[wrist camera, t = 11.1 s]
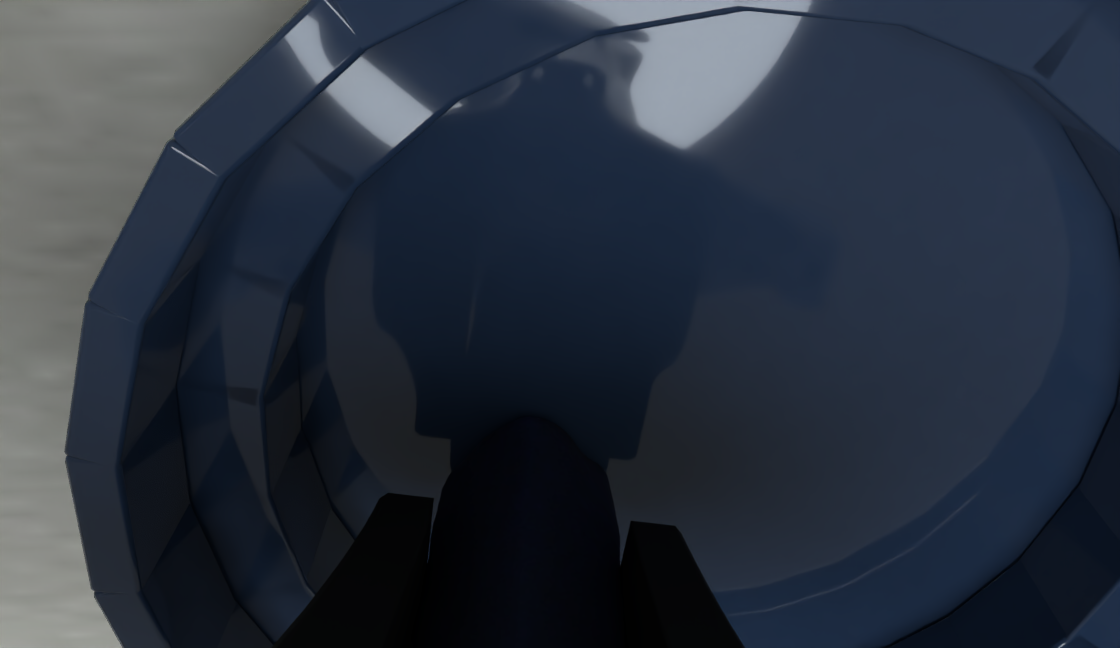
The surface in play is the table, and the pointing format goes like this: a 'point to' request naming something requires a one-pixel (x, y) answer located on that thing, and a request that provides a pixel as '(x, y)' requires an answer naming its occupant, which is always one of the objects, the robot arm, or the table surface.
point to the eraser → (523, 548)
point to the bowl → (632, 308)
